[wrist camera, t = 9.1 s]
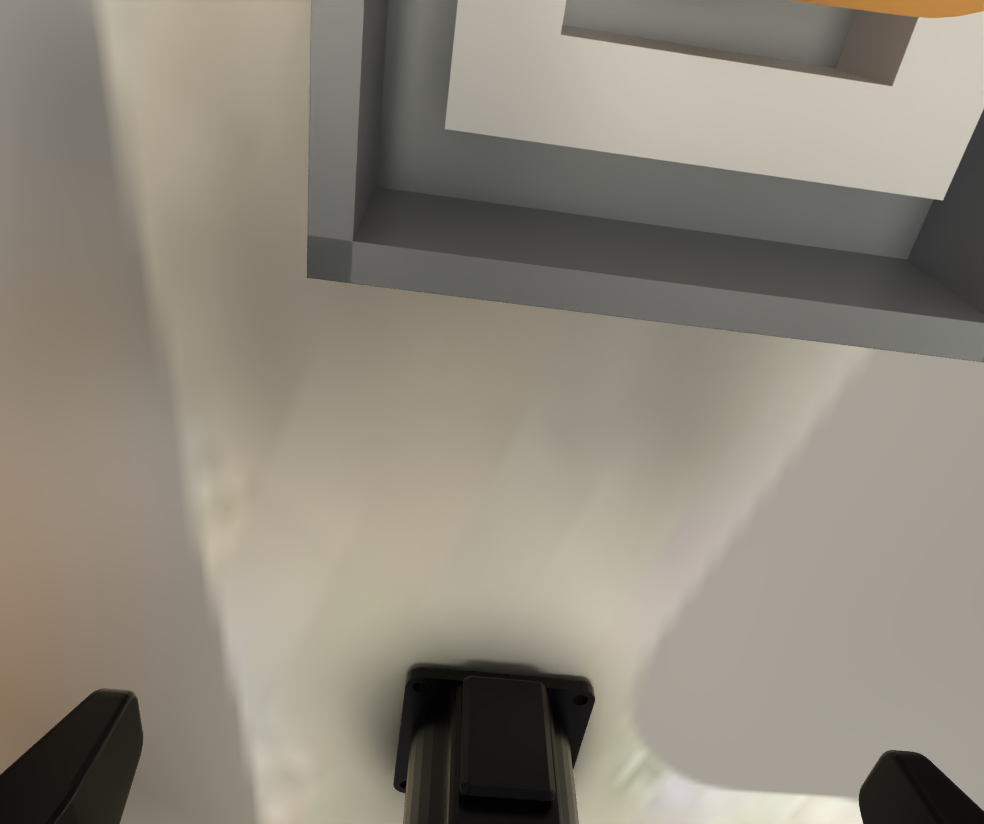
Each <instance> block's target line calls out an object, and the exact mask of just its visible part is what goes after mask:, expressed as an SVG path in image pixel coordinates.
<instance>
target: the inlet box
mask: <svg viewBox="0 0 984 824" xmlns="http://www.w3.org/2000/svg"><path fill="white" fill-rule="evenodd" d="M307 278H313V279H321V280H329V281H337V282H345V283H353V284H361V285H369V286H377V287H385V288H393V289H401V290H409V291H417V292H425V293H433V294H441V295H449V296H457V297H465V298H473V299H481V300H489V301H497V302H505V303H513V304H521V305H529V306H537V307H545V308H553V309H561V310H569V311H577V312H585V313H593V314H601V315H609V316H617V317H625V318H633V319H641V320H649V321H657V322H665V323H673V324H681V325H689V326H697V327H705V328H713V329H721V330H729V331H737V332H745V333H753V334H761V335H769V336H777V337H785V338H793V339H801V340H809V341H817V342H825V343H833V344H841V345H849V346H857V347H865V348H873V349H881V350H889V351H897V352H905V353H913V354H921V355H929V356H938V357H945V358H953V359H961V360H969V361H977V362H984V11H982V12H977V13H972V14H968V15H963V16H958V17H944V18H923V17H911V16H902V15H895V14H887V13H880V12H872V11H865V10H857V9H849V8H842V7H834V6H827V5H819V4H812V3H804V2H797V1H789V0H311V50H310V115H309V179H308V244H307Z"/></svg>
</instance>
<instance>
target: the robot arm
mask: <svg viewBox="0 0 984 824" xmlns="http://www.w3.org/2000/svg"><path fill="white" fill-rule="evenodd" d="M420 682H422V683H420ZM594 702H595V696H594V689H593V687H592V685H591V684H589V683H588V682H584V681H577V680H565V679H553V678H541V677H529V676H517V675H505V674H493V673H481V672H469V671H457V670H445V669H433V668H415V669H412V670H411V671H409V672H408V674H407V676H406V684H405V692H404V700H403V709H402V717H401V725H400V734H399V742H398V750H397V758H396V767H395V775H394V788H395V789H396V790H398V791H400V792H403V793H406V795H405V806H404V817H403V824H579V820H578V811H577V803H576V794H575V785H574V776H573V768H574V765H575V762H576V759H577V756H578V753H579V749H580V746H581V743H582V740H583V737H584V734H585V731H586V727H587V724H588V721H589V718H590V715H591V712H592V708H593V705H594ZM142 746H143V731H142V724H141V718H140V711H139V704H138V699H137V696H136V694H135V693H134V692H133V691H130V690H118V689H105V688H104V689H99V690H97V691H94V692H93V693H91V694H90V695H89V696H88V697H87V698H86V699H84V701H82V702H81V703H80V704H79V705H78V706H77V707H76V708H74V709H73V710H72V711H71V712H70V713H69V714H68V715H67V716H65V717H64V718H63V719H62V720H61V721H60V722H59V723H58V724H57V725H56V726H55V727H53V728H52V729H51V730H50V731H49V732H48V733H46V734H45V735H44V736H43V737H42V738H41V739H40V740H39V741H38V742H36V744H34V745H33V746H32V747H31V748H30V749H29V750H28V751H26V752H25V753H24V754H23V755H22V756H21V757H20V758H19V759H17V760H16V761H15V762H14V763H13V764H12V765H11V766H10V767H8V768H7V769H6V770H5V771H4V772H3V773H2V774H1V775H0V824H119V823H120V821H121V817H122V814H123V811H124V808H125V805H126V801H127V798H128V795H129V791H130V788H131V785H132V782H133V779H134V775H135V772H136V769H137V765H138V763H139V759H140V756H141V751H142ZM859 807H860V812H861V816H862V820H863V824H984V811H983V810H982V809H981V808H980V807H979V806H978V805H977V804H975V803H974V802H973V801H972V800H971V799H970V798H969V797H968V796H967V795H966V794H965V793H964V792H963V791H962V790H961V789H960V788H958V787H957V786H956V785H955V784H954V783H953V782H952V781H951V780H950V779H949V778H948V777H947V776H946V775H945V774H944V773H943V772H942V771H940V770H939V769H938V768H937V767H936V766H935V765H934V764H933V763H932V762H931V761H930V760H929V759H927V758H926V757H925V756H923V755H921V754H919V753H916V752H909V751H896V750H890V751H887V752H885V753H883V754H882V756H881V757H880V758H879V760H878V761H877V763H876V764H875V766H874V768H873V769H872V771H871V772H870V774H869V775H868V777H867V778H866V780H865V781H864V783H863V785H862V787H861V789H860V793H859Z"/></svg>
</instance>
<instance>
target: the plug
mask: <svg viewBox="0 0 984 824" xmlns="http://www.w3.org/2000/svg"><path fill="white" fill-rule="evenodd" d="M789 1H797V2H804V3H812V4H819V5H827V6H834V7H842V8H849V9H857V10H865V11H872V12H880V13H887V14H895V15H902V16H911V17H923V18H944V17H958V16H963V15H968V14H972V13H977V12H982V11H984V0H789Z"/></svg>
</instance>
